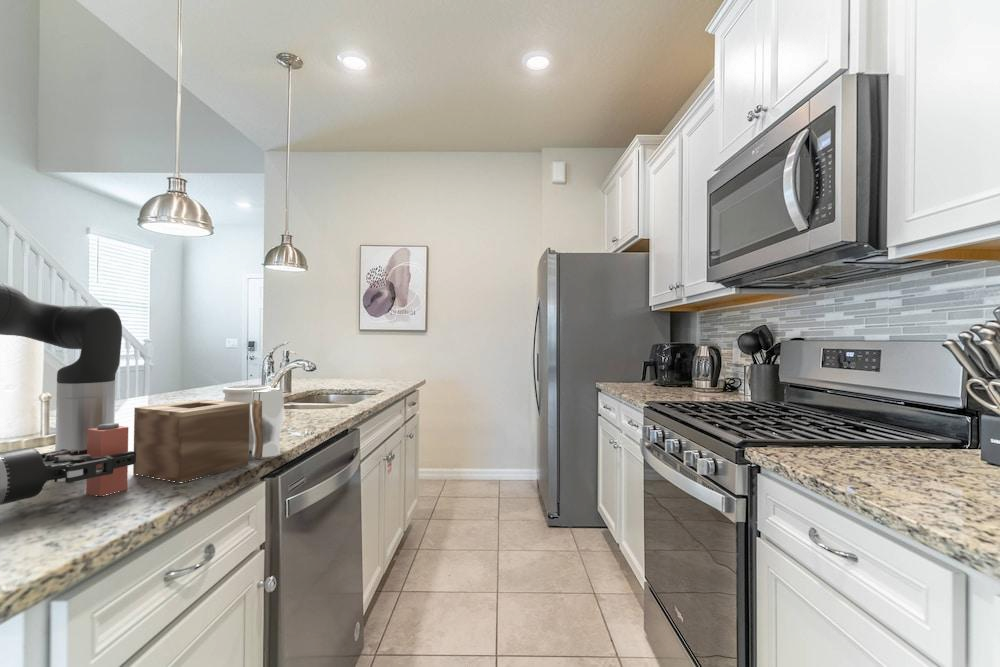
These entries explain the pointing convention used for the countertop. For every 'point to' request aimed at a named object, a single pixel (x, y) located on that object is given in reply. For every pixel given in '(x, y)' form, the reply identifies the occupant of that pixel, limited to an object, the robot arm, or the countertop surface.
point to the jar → (242, 400)
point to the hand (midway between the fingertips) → (119, 454)
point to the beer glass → (266, 422)
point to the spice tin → (107, 443)
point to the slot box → (190, 439)
